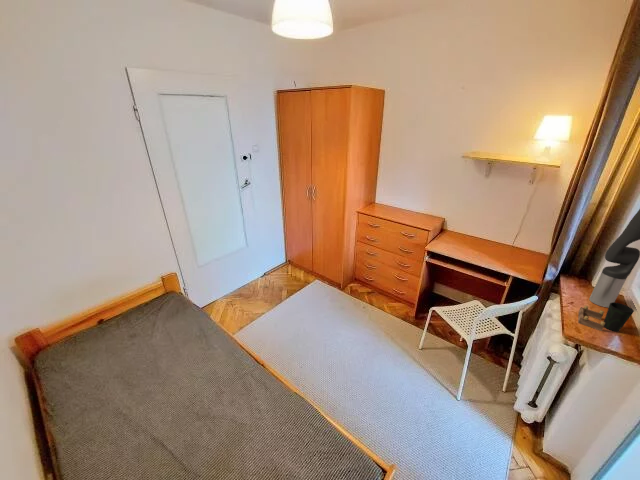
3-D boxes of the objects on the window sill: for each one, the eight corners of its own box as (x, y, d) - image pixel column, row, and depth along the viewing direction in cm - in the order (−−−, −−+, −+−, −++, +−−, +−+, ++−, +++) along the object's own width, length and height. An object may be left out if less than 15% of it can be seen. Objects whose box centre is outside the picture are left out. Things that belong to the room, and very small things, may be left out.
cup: (598, 320, 134) (609, 300, 130) (620, 327, 130) (632, 306, 125) (600, 328, 128) (611, 307, 124) (623, 336, 124) (635, 314, 120)
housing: (578, 311, 141) (581, 304, 139) (600, 318, 135) (604, 311, 134) (578, 323, 132) (581, 315, 130) (601, 331, 127) (605, 323, 125)
